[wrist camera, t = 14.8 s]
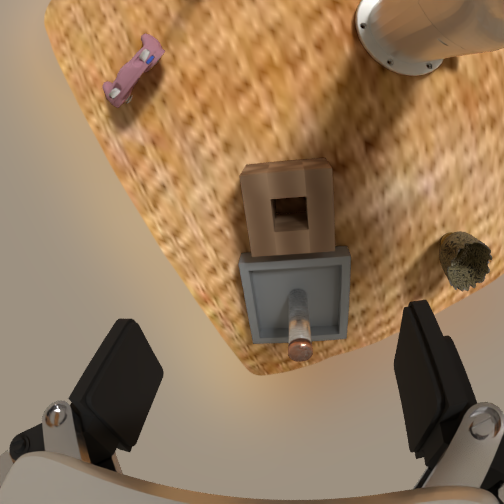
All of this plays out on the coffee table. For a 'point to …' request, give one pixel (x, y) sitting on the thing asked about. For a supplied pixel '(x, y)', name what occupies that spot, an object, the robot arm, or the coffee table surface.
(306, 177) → the hitch block
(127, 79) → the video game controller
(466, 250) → the cup
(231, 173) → the coffee table surface
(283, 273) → the tray
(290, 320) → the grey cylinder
